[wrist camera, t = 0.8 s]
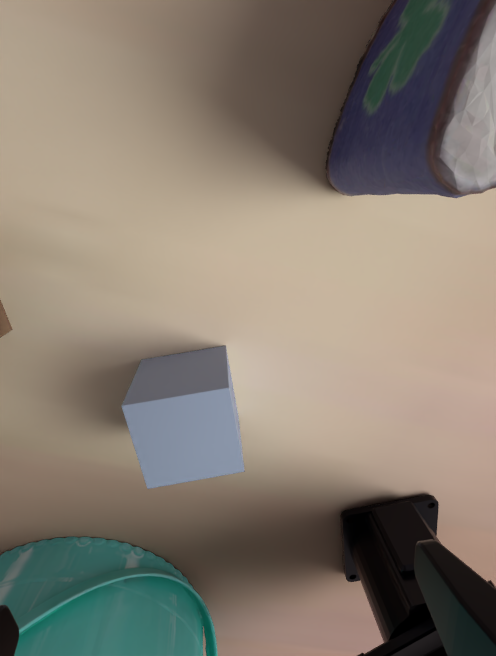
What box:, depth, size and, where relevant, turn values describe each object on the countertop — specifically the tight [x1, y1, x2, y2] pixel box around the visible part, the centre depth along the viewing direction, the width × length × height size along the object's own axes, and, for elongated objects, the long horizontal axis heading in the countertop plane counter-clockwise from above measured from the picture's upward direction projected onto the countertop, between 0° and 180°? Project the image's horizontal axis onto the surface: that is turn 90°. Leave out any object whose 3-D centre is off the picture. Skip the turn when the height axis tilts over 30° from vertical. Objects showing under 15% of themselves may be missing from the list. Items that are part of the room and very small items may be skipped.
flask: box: [326, 0, 496, 198], centre depth 10 cm, size 9×3×11 cm, turn 155°
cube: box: [121, 346, 245, 489], centre depth 18 cm, size 4×4×4 cm
